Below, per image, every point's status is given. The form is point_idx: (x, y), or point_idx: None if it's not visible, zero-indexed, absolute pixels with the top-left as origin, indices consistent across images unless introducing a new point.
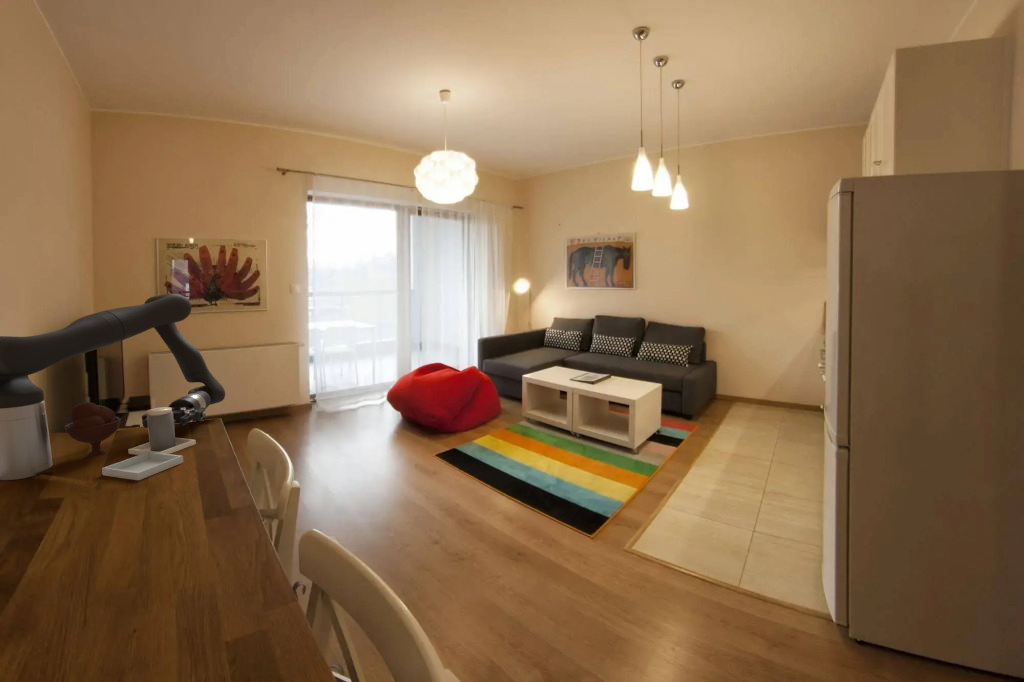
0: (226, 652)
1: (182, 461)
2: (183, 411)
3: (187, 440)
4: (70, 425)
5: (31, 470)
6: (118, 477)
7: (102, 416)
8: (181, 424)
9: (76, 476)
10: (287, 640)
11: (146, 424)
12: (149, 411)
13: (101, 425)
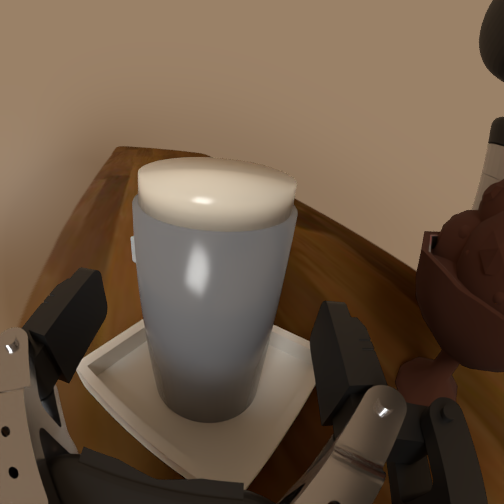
0: (138, 148)
1: (133, 250)
2: (33, 424)
3: (104, 386)
4: None
5: None
6: None
7: (473, 230)
8: (101, 304)
9: (353, 281)
10: (120, 148)
11: (317, 320)
12: (270, 169)
13: (426, 234)
